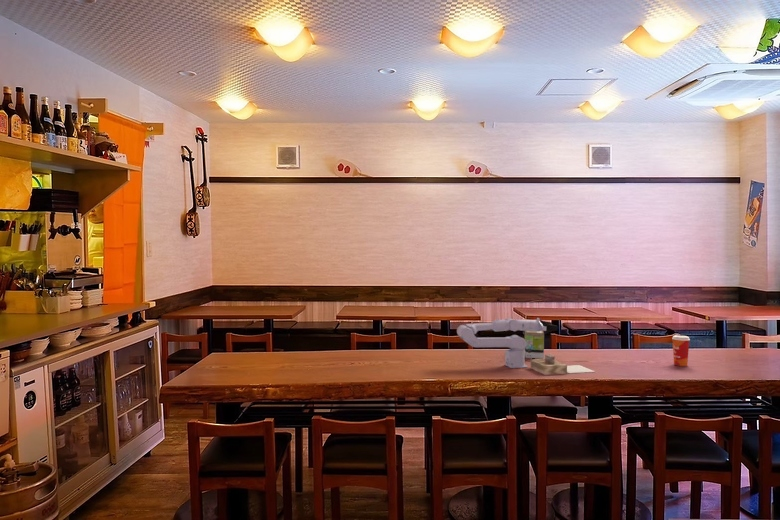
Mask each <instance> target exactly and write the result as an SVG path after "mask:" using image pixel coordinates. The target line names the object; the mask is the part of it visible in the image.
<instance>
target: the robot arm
mask: <svg viewBox="0 0 780 520" xmlns="http://www.w3.org/2000/svg"><path fill="white" fill-rule="evenodd" d="M558 329H559V328H558V325H555V324H552V322H549V321H544V320H542V319H540V317H537V318H536V319H514V318H509V317H507V318H505V319H500V318H496V319H494V320H493V321H491V322H481V323H480V322H479V323H467V324H460V325H459V326H458V327H457V328H456V334H457V335H458V336H459V337H458V338H460V339H461V340H462V341H464V342H465V343H466V344H468V345H469V346H471V347H473V348H509V349H505V353H504V355H505V356H504V357H505V359H504V366H506V367H508V368H510V369H517V368H518V369H520V368H521V369H522V368H525V369H526V368H529V367H528V365H527V364H525V361H526V360H525V359H526V357H525V347H526V344H527V343H526V340H525V339H524V337H521V336H519V335H517V334H512V335H510V336H505V337H477V336H476V334H477V333H478V332H479V331H480V332H481V331H488V330H492V331H494V332H504V331H505V332H507V331H509V330H510V331H513V332H517V331H524V332H525V331H537V332H539V331H543V333H544V335H545V334H548V333H550V332H555V331H558Z"/></svg>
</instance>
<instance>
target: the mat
mask: <svg viewBox="0 0 780 520" xmlns="http://www.w3.org/2000/svg"><path fill="white" fill-rule="evenodd" d="M586 373H588V374H589V373H596V371H595V370H592V369H590V368H587V367H585V366H583V365H580V364H576V365H575V364H574V365H571V364H570V365H567V374H586Z"/></svg>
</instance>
